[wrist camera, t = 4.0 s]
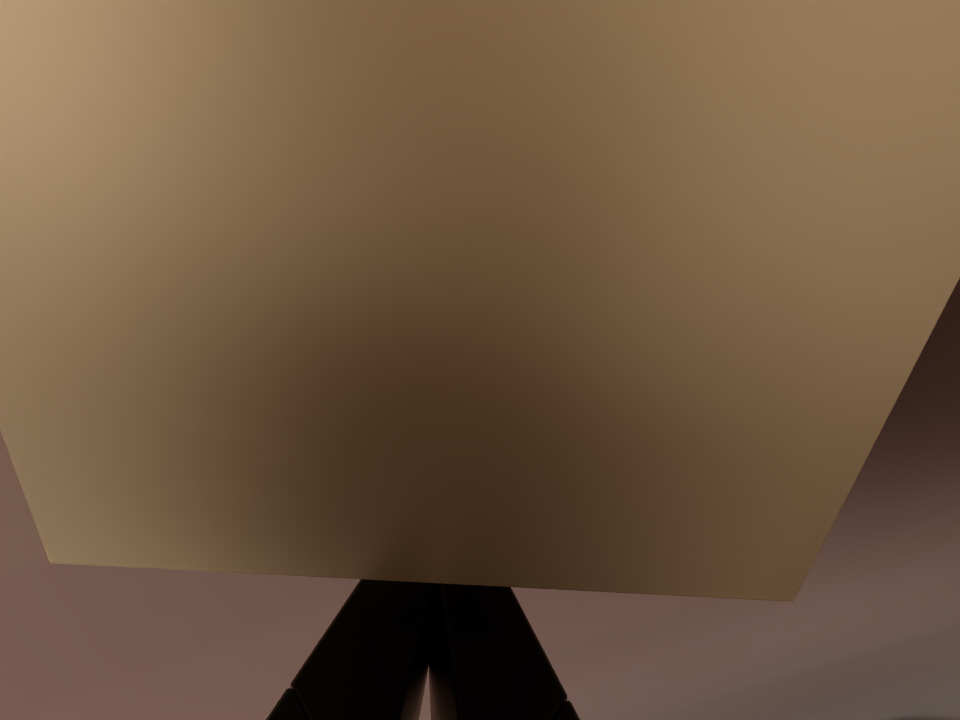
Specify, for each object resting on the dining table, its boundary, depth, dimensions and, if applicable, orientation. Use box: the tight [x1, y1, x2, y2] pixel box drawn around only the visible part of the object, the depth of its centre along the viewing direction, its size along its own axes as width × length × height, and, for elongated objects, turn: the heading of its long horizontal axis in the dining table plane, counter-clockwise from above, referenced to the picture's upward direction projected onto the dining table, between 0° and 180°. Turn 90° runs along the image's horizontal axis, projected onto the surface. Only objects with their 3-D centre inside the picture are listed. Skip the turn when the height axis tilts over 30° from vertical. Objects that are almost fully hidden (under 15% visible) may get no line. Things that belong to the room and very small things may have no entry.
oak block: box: [0, 0, 960, 602], centre depth 7 cm, size 8×7×4 cm
